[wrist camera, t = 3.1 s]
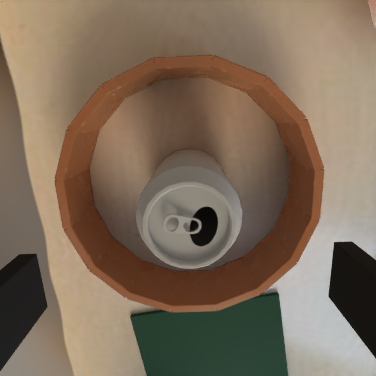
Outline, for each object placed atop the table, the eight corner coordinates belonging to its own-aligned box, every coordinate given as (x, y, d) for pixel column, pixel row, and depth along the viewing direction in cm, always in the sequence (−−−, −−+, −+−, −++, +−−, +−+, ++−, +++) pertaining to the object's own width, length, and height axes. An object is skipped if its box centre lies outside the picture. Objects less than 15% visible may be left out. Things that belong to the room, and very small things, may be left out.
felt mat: (277, 292, 32) (278, 294, 32) (288, 382, 36) (289, 385, 36) (130, 314, 33) (130, 317, 33) (155, 400, 37) (154, 403, 37)
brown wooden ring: (302, 63, 26) (335, 48, 20) (290, 273, 32) (312, 308, 26) (68, 74, 26) (33, 63, 21) (98, 279, 32) (77, 315, 26)
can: (216, 221, 30) (232, 288, 19) (149, 209, 30) (123, 268, 18) (231, 155, 28) (260, 183, 17) (160, 141, 28) (139, 160, 16)
